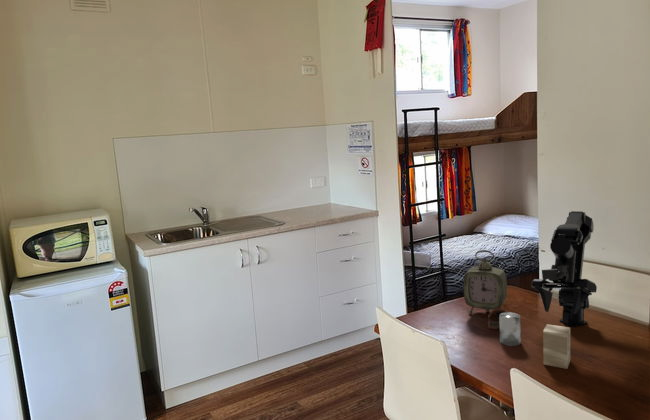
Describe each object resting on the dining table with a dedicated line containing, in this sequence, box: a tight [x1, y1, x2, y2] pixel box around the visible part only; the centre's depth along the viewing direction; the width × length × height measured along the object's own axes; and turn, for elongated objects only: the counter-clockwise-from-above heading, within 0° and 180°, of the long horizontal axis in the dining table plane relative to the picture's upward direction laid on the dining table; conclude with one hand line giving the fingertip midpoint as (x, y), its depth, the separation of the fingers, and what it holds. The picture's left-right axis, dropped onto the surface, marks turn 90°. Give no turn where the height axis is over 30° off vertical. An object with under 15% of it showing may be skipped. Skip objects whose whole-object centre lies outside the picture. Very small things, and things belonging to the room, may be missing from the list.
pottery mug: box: [487, 306, 509, 330], centre depth 175 cm, size 12×10×8 cm
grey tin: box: [499, 311, 522, 347], centre depth 163 cm, size 6×6×9 cm
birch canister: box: [542, 323, 571, 370], centre depth 146 cm, size 6×6×10 cm
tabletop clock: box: [462, 249, 508, 315], centre depth 187 cm, size 14×9×25 cm, turn 58°
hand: (560, 312), depth 153 cm, fingers open, 9 cm apart
